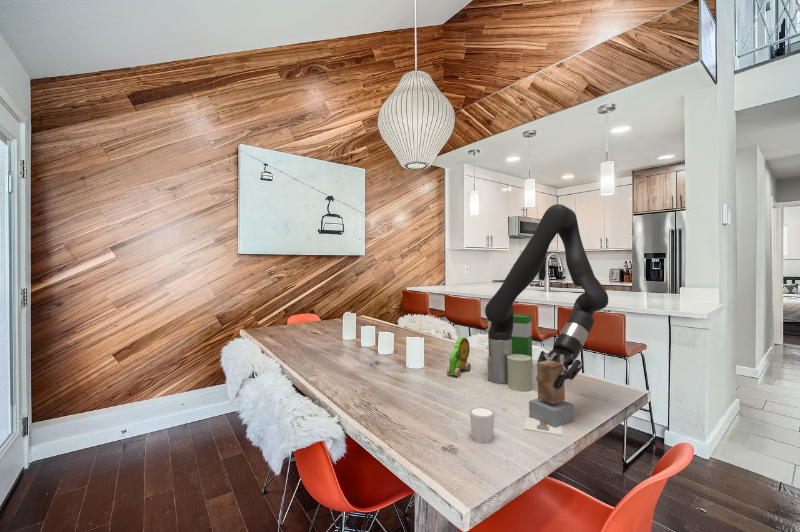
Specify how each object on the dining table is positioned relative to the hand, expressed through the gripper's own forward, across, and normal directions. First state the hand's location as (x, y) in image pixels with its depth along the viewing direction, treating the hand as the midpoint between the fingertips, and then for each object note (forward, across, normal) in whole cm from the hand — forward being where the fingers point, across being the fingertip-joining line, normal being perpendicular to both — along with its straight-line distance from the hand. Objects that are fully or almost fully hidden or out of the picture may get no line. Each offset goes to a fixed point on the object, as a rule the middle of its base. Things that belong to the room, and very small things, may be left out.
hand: (547, 384), depth 107 cm
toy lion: (+2, -51, +13) cm, 52 cm away
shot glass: (+24, -3, -9) cm, 26 cm away
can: (-3, -24, +19) cm, 31 cm away
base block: (+6, 0, +9) cm, 11 cm away
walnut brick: (+2, 0, +5) cm, 5 cm away
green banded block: (-15, -44, +30) cm, 56 cm away
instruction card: (+11, +2, +5) cm, 12 cm away
